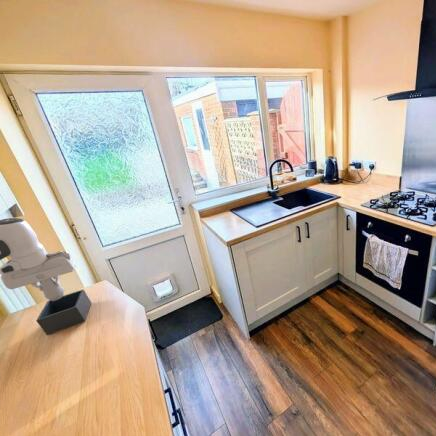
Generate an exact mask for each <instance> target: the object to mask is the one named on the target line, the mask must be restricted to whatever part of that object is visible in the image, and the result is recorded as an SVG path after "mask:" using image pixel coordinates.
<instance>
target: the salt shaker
mask: <svg viewBox="0 0 436 436" xmlns="http://www.w3.org/2000/svg"><path fill="white" fill-rule="evenodd" d="M36 277H37V279H42V278H45V276H44V275H43V274H39V275H37V276H36ZM55 280H56V279H53V277H52V278H49V279H46V280H42V281H39V282H38V283H40V284H41V287H42V289H43V291H42V293H43V295H44V298H45V299H47V300H48V301H49V300H51V301H55V300H58V299H60V298H61V297H63V296H64V293H65V289H64V287H63V286H62V285H60V286H56V285H55V284H54V283H55Z"/></svg>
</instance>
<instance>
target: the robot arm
mask: <svg viewBox="0 0 436 436" xmlns="http://www.w3.org/2000/svg"><path fill="white" fill-rule="evenodd" d="M7 257H10V258H11V259H9V260H7V261H6V262H4V263H2V264H1V266H0V279H1V282H2V283H3V285H4V287H5V288H6V289H9V290H16V289H19V288H22V287H26V286H28V285H31V286H32V287H34V288H37V289H39V291H40V292H43V289H42V287H41V284H40V282H39V281H42V280H46V279H49V278H53V279H54V280H55V283H54V284H55V285H56V286H61V282H60V277H61V276H63V275H65V274H69V273H72V272H74V271H75V269H76V268H77V264H76V263H75V261H74V260H73V259H72V258H71V255H70V253H69V252H68V251H65V250H64V251H63V250H58V251H56V252H51V253H48V251H47V250H46V249H45V247H44V245H43V244H42V243H40V241H39V239H38V235H37V233H36V232H35V231H34V230H33V227H32V226H31V225H30V224H29V223H28V222H27V221H26V220H25V219H22V218H18V217H9V218H8V217H7V218H3V219H0V261H1V260H3V259H6V258H7ZM39 274H43V275H44V276H45V278H42V279H37V277H36V276H37V275H39Z"/></svg>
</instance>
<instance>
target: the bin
mask: <svg viewBox="0 0 436 436" xmlns="http://www.w3.org/2000/svg"><path fill="white" fill-rule="evenodd" d="M91 306H92V301H91V299H90V297H89V296H88V293H87V292H86V291H85V289H80V290H78V291H74V292H70V293H67V294H65V295H64V294H63V297H61V298H60V299H58V300H55V301H51V300H49V299H48V300H47V301H46V303H45V304H44V306H43V308H42V310H41V311H40V313H39V315H38V316H37V318H36V322H37V324H38V326H39V327H40V328H41V329H42V331H43V332H44V334H45V335H46V336H49V335H52V334H55V333H57V332H60V331H63V330H65V329H69V328H71V327H75V326H77V325H79V324H82V323H85V322H86V320H87V317H88V314H89V313H90V312H89V311H90V308H91Z"/></svg>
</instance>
